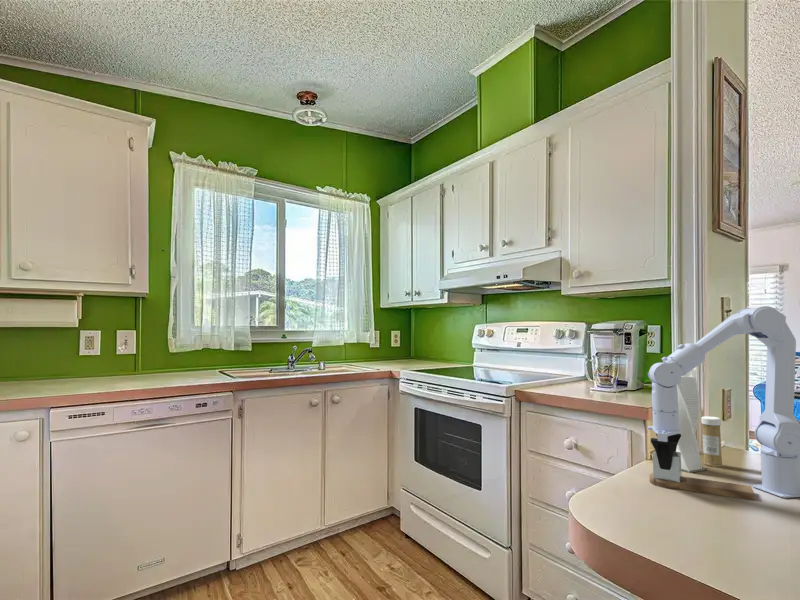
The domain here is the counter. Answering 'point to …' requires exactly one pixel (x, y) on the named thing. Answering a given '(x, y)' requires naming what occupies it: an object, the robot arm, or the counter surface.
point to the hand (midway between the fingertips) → (667, 465)
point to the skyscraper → (688, 423)
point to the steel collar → (671, 474)
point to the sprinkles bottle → (712, 441)
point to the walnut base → (707, 487)
